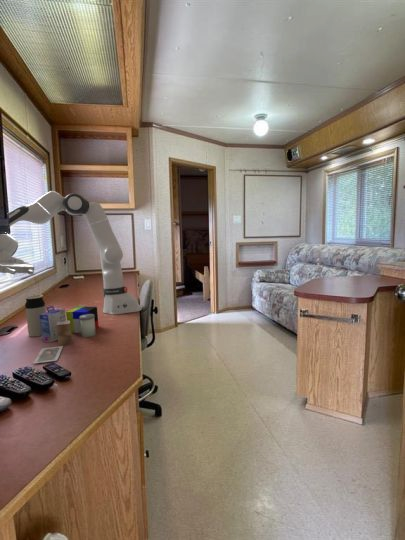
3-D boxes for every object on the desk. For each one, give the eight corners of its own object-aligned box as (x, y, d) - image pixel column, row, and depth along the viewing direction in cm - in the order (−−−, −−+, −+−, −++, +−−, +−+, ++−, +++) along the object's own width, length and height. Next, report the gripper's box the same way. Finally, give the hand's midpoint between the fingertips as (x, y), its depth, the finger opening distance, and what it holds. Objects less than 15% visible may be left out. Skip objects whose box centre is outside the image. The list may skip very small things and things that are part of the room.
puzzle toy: (87, 333, 144) (85, 312, 143) (68, 332, 146) (66, 311, 145) (98, 326, 154) (96, 306, 152) (80, 326, 156) (78, 306, 154)
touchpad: (63, 348, 127) (62, 343, 126) (57, 363, 112) (56, 357, 112) (42, 351, 124) (41, 346, 124) (33, 366, 110) (32, 360, 110)
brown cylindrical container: (72, 340, 135) (70, 320, 134) (71, 344, 130) (69, 323, 129) (59, 342, 133) (57, 321, 132) (58, 346, 128) (56, 325, 127)
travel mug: (51, 332, 146) (47, 295, 144) (34, 337, 140) (30, 298, 138) (41, 330, 151) (37, 293, 148) (25, 335, 144) (20, 297, 142)
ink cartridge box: (58, 334, 144) (55, 303, 142) (68, 335, 142) (65, 304, 140) (41, 341, 134) (38, 309, 133) (51, 342, 133) (48, 309, 131)
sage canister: (97, 332, 144) (95, 313, 143) (94, 336, 138) (93, 317, 137) (82, 333, 143) (80, 314, 142) (79, 338, 137) (77, 318, 136)
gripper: (-16, 255, 142) (4, 265, 137) (24, 259, 161) (43, 267, 156) (-20, 268, 142) (0, 279, 137) (21, 270, 161) (39, 279, 156)
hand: (23, 273), depth 147 cm, fingers open, 8 cm apart
